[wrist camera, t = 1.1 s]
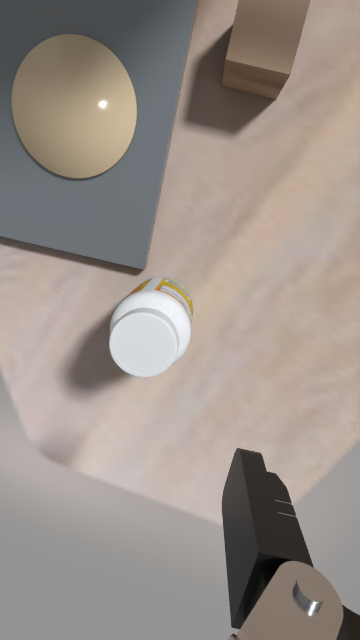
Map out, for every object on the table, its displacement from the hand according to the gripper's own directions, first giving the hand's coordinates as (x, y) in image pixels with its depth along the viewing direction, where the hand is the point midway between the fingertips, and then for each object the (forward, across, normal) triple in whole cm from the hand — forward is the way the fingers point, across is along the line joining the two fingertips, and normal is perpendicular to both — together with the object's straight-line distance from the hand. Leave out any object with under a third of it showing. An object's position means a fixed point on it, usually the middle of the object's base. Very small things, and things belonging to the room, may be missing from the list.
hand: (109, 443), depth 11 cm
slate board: (+18, +9, -13) cm, 24 cm away
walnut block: (+18, -3, -19) cm, 27 cm away
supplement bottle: (+18, 0, 0) cm, 19 cm away
